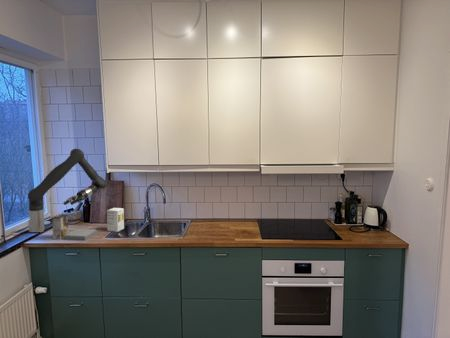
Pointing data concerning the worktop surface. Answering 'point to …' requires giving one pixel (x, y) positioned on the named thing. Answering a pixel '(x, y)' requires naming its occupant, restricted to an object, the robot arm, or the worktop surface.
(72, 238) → the podium
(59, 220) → the coffee box
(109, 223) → the supplement box
